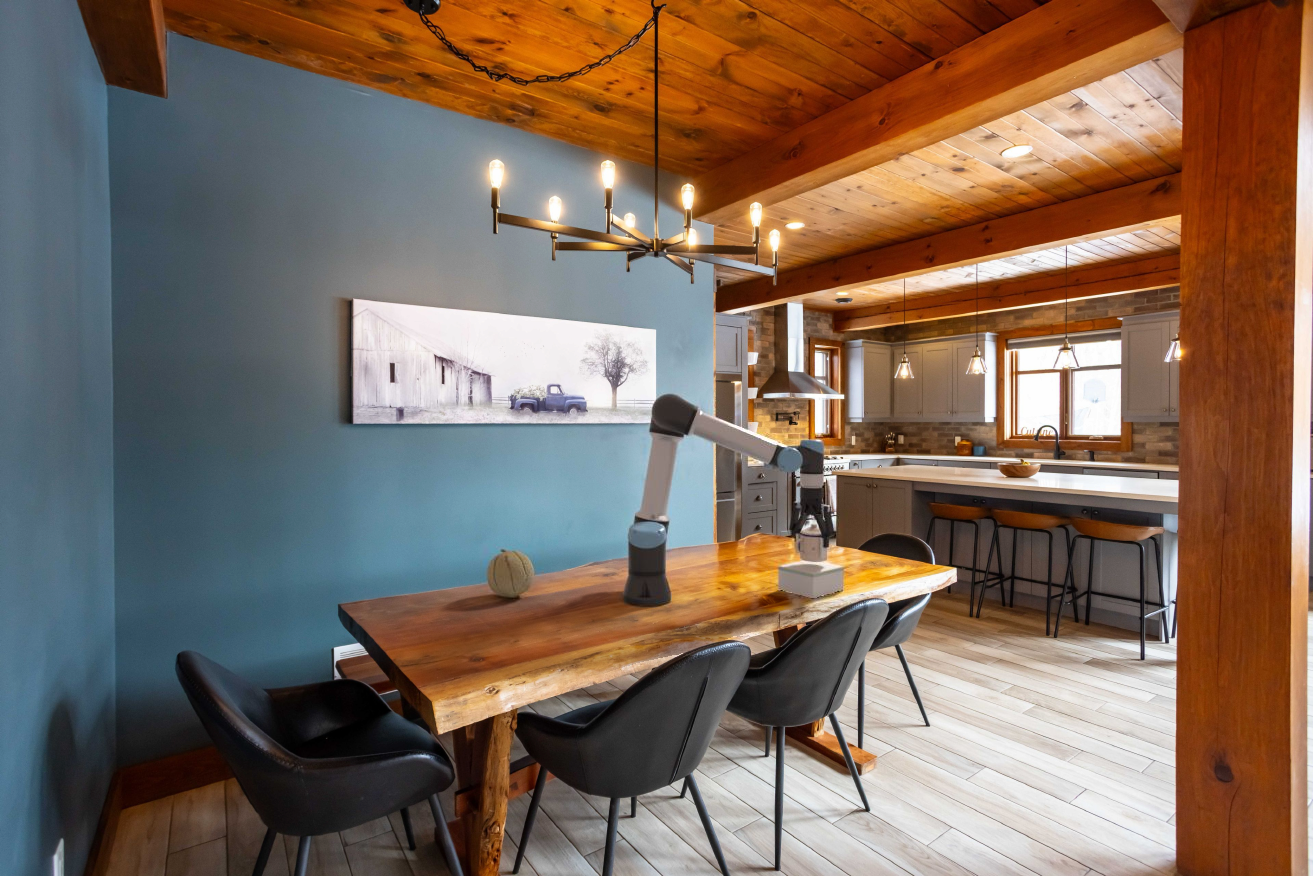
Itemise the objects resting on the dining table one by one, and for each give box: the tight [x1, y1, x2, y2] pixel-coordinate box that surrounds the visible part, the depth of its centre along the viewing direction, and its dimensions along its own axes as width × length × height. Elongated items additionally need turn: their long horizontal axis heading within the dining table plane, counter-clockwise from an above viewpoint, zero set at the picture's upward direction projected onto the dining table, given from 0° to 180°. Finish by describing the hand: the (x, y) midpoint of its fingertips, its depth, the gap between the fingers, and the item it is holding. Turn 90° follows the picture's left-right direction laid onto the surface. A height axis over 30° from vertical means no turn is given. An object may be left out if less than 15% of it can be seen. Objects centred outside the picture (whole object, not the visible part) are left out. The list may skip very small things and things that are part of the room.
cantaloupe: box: [486, 548, 535, 599], centre depth 209 cm, size 15×15×15 cm
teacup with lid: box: [793, 523, 828, 562], centre depth 218 cm, size 12×9×12 cm
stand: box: [777, 560, 845, 599], centre depth 218 cm, size 14×16×8 cm
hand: (811, 555), depth 217 cm, fingers closed on teacup with lid, 9 cm apart
